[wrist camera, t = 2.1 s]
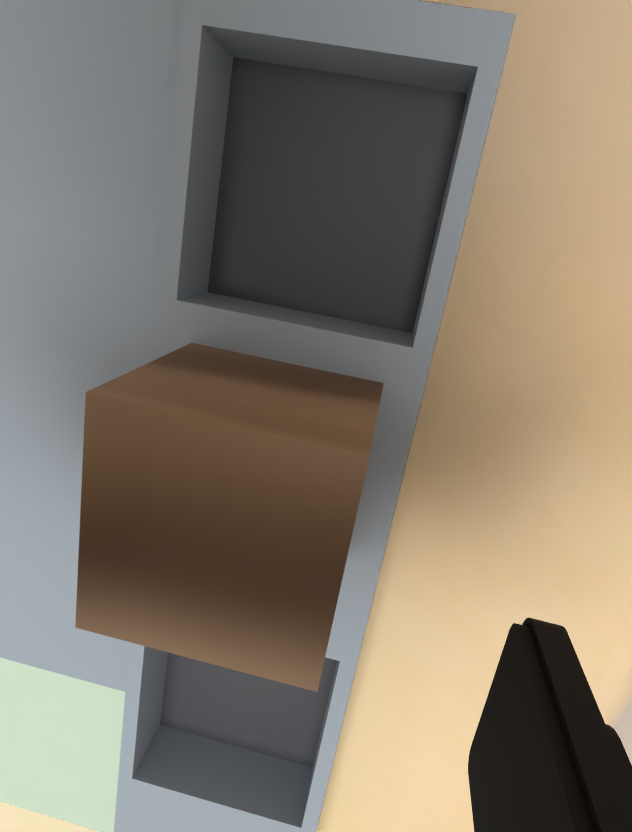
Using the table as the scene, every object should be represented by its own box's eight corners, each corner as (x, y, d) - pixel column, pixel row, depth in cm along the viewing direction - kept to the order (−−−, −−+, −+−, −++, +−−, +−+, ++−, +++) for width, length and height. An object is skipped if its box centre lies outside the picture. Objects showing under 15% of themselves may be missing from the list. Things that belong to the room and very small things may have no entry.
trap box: (-30, -25, 15) (-111, -75, 13) (497, 53, 14) (515, 14, 11) (-15, 736, 24) (-62, 791, 21) (310, 831, 22) (298, 901, 20)
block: (191, 342, 14) (85, 392, 10) (383, 382, 14) (369, 455, 9) (173, 514, 16) (75, 627, 11) (345, 555, 16) (317, 692, 11)
